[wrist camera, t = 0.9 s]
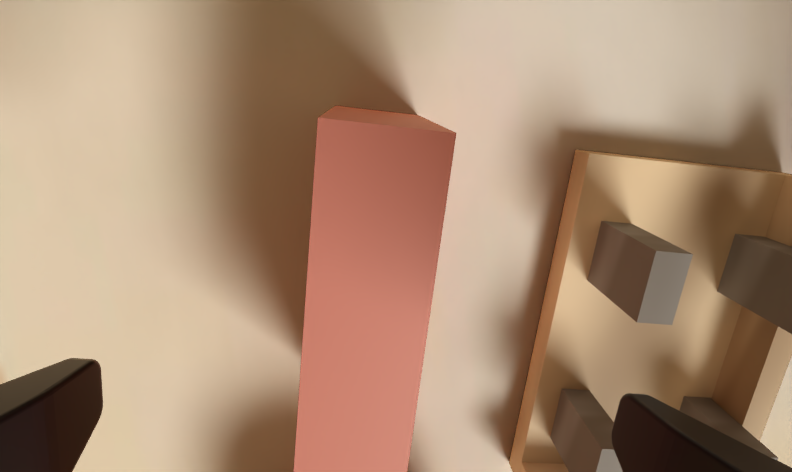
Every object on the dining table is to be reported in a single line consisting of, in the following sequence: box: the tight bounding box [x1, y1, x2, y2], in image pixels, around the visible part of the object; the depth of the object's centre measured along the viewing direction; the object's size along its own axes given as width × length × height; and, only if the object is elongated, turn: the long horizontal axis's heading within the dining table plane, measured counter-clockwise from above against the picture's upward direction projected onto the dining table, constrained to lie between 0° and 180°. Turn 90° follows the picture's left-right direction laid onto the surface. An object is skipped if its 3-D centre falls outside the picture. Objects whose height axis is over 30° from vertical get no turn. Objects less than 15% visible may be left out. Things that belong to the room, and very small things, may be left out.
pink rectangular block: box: [294, 106, 456, 472], centre depth 13 cm, size 9×2×6 cm, turn 174°
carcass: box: [509, 150, 792, 472], centre depth 16 cm, size 7×12×4 cm, turn 174°
